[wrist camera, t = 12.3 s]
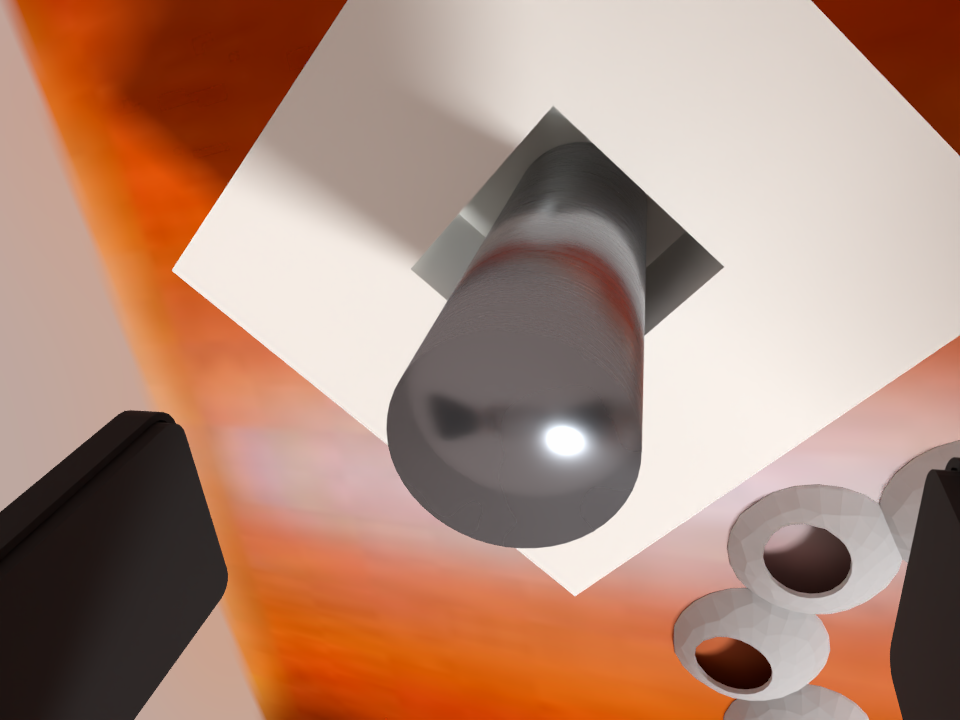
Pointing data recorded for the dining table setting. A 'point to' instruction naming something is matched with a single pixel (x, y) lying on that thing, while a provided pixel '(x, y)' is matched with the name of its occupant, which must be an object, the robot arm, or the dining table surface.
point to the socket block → (670, 217)
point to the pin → (535, 364)
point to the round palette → (790, 614)
